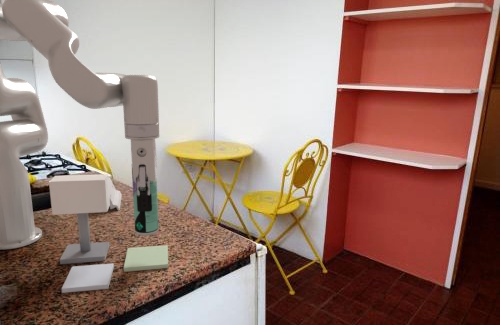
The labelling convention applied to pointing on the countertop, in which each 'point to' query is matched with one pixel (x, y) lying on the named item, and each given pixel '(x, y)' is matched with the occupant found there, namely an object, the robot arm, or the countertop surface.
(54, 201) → the mounted unit
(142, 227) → the spray can
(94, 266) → the grey square tile
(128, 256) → the green tile
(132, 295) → the countertop surface
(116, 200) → the white bevelled plastic case
